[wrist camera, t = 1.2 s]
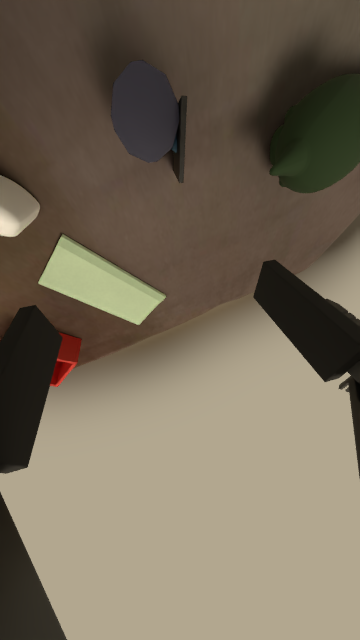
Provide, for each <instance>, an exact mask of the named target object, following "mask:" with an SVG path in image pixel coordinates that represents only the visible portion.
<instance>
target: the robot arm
mask: <svg viewBox="0 0 360 640" xmlns="http://www.w3.org/2000/svg"><path fill="white" fill-rule="evenodd" d="M254 298H255V299H256V301H257V302H258V303H259V304H260V305H261V307H262V308H263V309H264V310H265V312H266V313H267V314H268V315H269V316H270V317H271V319H272V320H273V321H274V322H275V323H276V325H277V326H278V327H279V328H280V329H281V330H282V332H283V333H284V334H285V335H286V336H287V338H289V340H290V341H291V342H292V343H293V345H294V346H295V347H296V348H297V349H298V350H299V352H300V353H301V354H302V355H303V357H304V358H305V359H306V360H307V361H308V363H309V364H310V365H311V366H312V367H313V368H314V370H315V371H316V372H317V373H318V374H319V376H320V377H321V378H322V379H323V380H324V382H327V381H330V380H334V379H337V378H340V377H341V376H342V375H343V374H345V373H346V372H348V373H349V374H350V375H351V376H350V377H349V378H348V379H346V380H345V381H344V382H342V383H341V384H340V385H339V389H343V388H345V387H346V386H347V385H349V387H348V388H347V389H346V391H347V392H349V393H350V401H351V409H352V417H353V426H354V435H355V443H356V451H357V460H358V468H359V476H360V320H359V319H356V317H355V316H354V315H352V314H351V313H348V311H347V310H346V309H344V308H343V307H342V306H340V305H339V304H337V303H335V302H333V301H331V300H329V299H324V298H323V297H322V296H320V295H319V294H318V293H317V292H315V291H314V290H313V289H311V288H310V287H309V286H307V285H306V284H305V283H304V282H303V281H301V280H300V279H299V278H297V277H296V276H295V275H294V274H292V273H291V272H290V271H289V270H287V269H286V268H285V267H283V266H282V265H281V264H280V263H278V262H277V261H276V260H271V261H265V262H263V265H262V269H261V272H260V276H259V279H258V283H257V286H256V290H255V293H254ZM62 339H63V337H62V336H61V335H60V334H59V332H58V331H57V330H56V329H55V328H54V327H53V325H52V324H51V323H50V322H49V321H48V319H47V318H46V317H45V316H44V315H43V313H42V312H41V311H40V310H39V309H38V308H37V306H36V305H33V306H28V307H23V308H20V309H19V310H18V312H17V314H16V316H15V317H14V319H13V321H12V323H11V325H10V326H9V328H8V330H7V332H6V333H5V335H4V337H3V339H2V340H1V342H0V473H10V472H13V471H17V470H20V469H24V468H27V467H28V464H29V460H30V456H31V453H32V449H33V445H34V442H35V438H36V435H37V431H38V427H39V423H40V420H41V416H42V412H43V409H44V405H45V401H46V398H47V394H48V390H49V387H50V383H51V379H52V376H53V372H54V368H55V365H56V361H57V357H58V354H59V350H60V346H61V343H62ZM0 640H67V639H66V637H65V635H64V632H63V630H62V628H61V626H60V624H59V621H58V619H57V617H56V615H55V613H54V610H53V609H52V606H51V604H50V602H49V599H48V597H47V595H46V593H45V590H44V588H43V586H42V584H41V581H40V579H39V577H38V575H37V573H36V571H35V568H34V566H33V564H32V562H31V559H30V557H29V555H28V553H27V551H26V548H25V546H24V544H23V542H22V539H21V537H20V535H19V533H18V530H17V528H16V526H15V524H14V522H13V519H12V517H11V515H10V513H9V510H8V508H7V506H6V504H5V502H4V499H3V498H2V495H1V493H0Z"/></svg>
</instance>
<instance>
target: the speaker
mask: <svg viewBox="0 0 360 640" xmlns="http://www.w3.org/2000/svg"><path fill="white" fill-rule="evenodd" d="M186 111H187V96H182V97H181V98H180V100H179V102H178V103H177V100H176V98H175V96H174V93H173V91H172V88H171V86H170V84H169V81H168V79H167V77H166V74H164V73H162V72H161V71H159V70H158V69H156V68H155V67H153V66H151V65H150V64H148V63H147V62H145V61H143V60H139V61H133V62H130V63H129V64H128V66H127V67H126V68H125V69H124V71H123V72H122V73H121V74H120V76H119V77H118V78H117V79H116V81H115V82H114V83H113V95H112V107H111V118H112V122H113V126H114V130H115V132H116V134H117V135H118V137H119V138H120V140H121V141H122V143H123V145H124V146H125V148H126V149H127V151H128V153H129V154H131V155H133V156H135V157H137V158H139V159H141V160H144V161H146V162H148V163H149V162H156V161H158V160H159V159H160V158H161V157H163V156H164V155H165V154H166V153H167V152H168V151H169V150H170V149H171V150H173V171H174V173H175V175H176V177H177V179H178V181H179V183H183V179H184V157H185V134H186Z"/></svg>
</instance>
